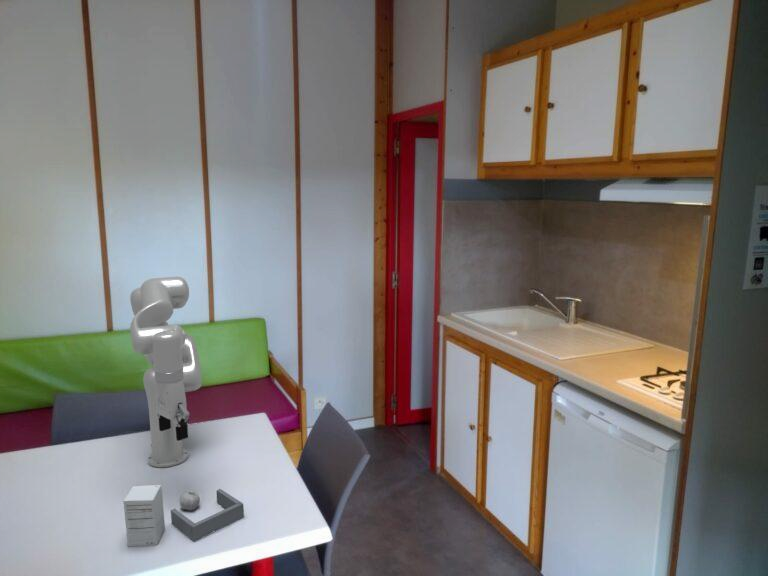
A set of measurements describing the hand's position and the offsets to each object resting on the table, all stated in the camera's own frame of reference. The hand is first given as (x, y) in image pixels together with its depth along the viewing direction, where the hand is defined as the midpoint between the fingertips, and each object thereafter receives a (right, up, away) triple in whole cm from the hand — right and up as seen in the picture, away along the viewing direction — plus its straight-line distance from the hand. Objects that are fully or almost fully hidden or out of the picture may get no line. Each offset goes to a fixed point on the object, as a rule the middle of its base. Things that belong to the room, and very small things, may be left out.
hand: (173, 434), depth 163 cm
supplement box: (-1, -23, -15) cm, 27 cm away
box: (+12, -21, -8) cm, 25 cm away
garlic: (+5, -20, -2) cm, 21 cm away
